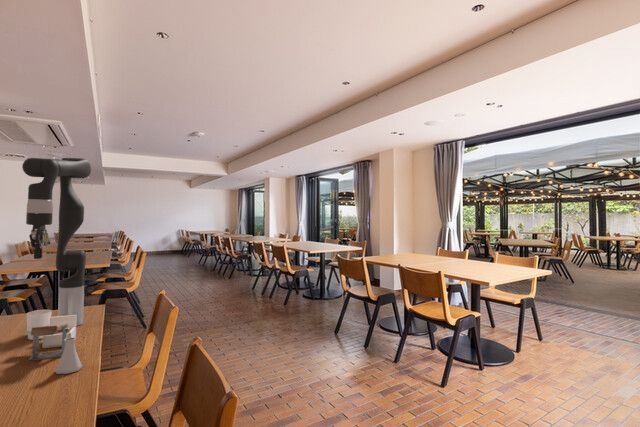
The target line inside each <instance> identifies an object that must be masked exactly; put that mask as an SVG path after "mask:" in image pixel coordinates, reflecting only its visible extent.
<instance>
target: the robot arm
mask: <svg viewBox="0 0 640 427" xmlns="http://www.w3.org/2000/svg"><path fill="white" fill-rule="evenodd" d="M21 168H22V171H23V172H24V174H25V175H26V176H28V177H32V178H43V179H42V181H39V182H35V183H31V184H29V185H28V188H27V189H28V192H27V203H26V217H25V218H26V219H25V223H26V225H29V226H32V229H31V230H30V234H29V235H28V236H29V240H30V246H31V248H33V259H35V260H38V259H39V260H40V259H41V260H42V259H43V249H44V247H45V246H46V242H47V239H48V235H49V234H48V230H47V229H46V226H51V225H52V224H53V208H54V207H53V189H54V186H55V183H56V181H57V178H58V177H59V184H60V186H59V187H60V188H59V190H60V193H59V194H60V195H59V205H58V206H59V208H58V236H57V238H58V240H57V245H56V246H57V247H56V248H57V249H56V256H55V268H56V270H57V272H76V273H74V274H73V275H71V276H69V277H66V278H63V279H61V280H59V283H58V307H57V309H58V310H57V316H68V315H77V318H76V327H78V326H80V325H82V324H83V323H84V305H85V304H84V302H85V299H84V298H85V272H86V260H87V255H86V251H85V250H80V249H71V250H66V249H67V247H68V244H69V243H70V241H71V239H72V237H73V236H74V234H75V233H76V232H77V231H78V230H79V229H80V227H81V226H82V225H83V222H84V220H85V219H84V218H85V207H84V204H83V202H82V201H81V199H80V197H78V195H77V194H76V191H75V190H74V188H73V185H72V179H86V178H88V177H90V175H91V172H92V166H91V163H90V161H89V160H88V159H86V158H83V157H82V158H81V157H80V158H79V157H63V158H61V159H56V158H42V157H41V158H40V157H29V158H27V159H25V160H24V161H23V163H22V167H21Z"/></svg>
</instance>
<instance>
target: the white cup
mask: <svg viewBox="0 0 640 427" xmlns="http://www.w3.org/2000/svg"><path fill="white" fill-rule="evenodd" d="M52 313H53V310H52V309H37V310H32V311H29V312H27V313H26V328H27V331H31V330H32V328H35V327H44V326H50V317H53V314H52ZM41 339H42V340H43V336H39V340H41ZM27 340H31V341H33V335H31V334H27Z"/></svg>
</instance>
